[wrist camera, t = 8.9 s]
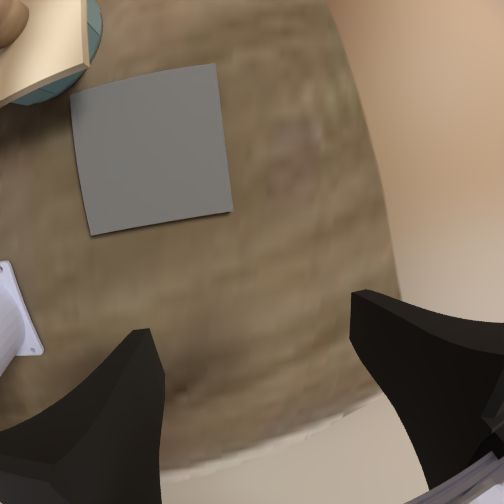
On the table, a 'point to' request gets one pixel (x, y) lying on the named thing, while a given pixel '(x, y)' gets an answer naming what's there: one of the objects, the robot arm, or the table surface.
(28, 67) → the lid
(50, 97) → the bowl
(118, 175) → the mat
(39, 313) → the table surface
